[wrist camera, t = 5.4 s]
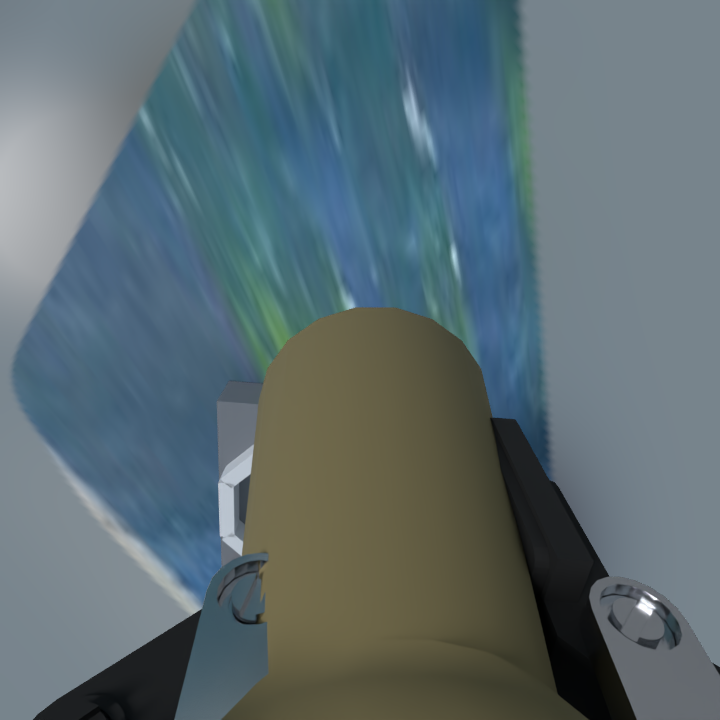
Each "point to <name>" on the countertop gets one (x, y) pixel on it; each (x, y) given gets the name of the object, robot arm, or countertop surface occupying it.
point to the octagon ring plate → (235, 461)
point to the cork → (388, 535)
